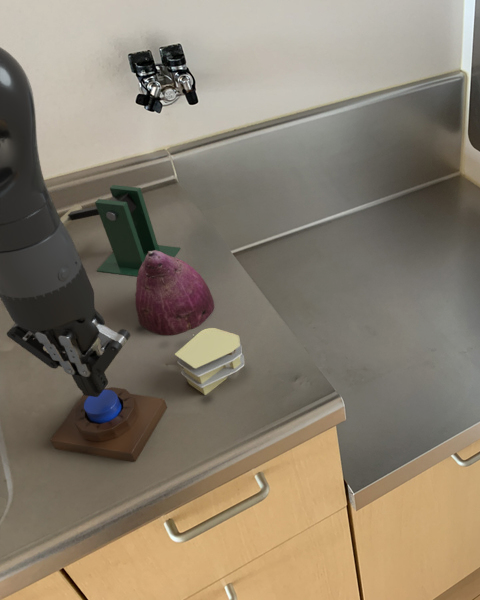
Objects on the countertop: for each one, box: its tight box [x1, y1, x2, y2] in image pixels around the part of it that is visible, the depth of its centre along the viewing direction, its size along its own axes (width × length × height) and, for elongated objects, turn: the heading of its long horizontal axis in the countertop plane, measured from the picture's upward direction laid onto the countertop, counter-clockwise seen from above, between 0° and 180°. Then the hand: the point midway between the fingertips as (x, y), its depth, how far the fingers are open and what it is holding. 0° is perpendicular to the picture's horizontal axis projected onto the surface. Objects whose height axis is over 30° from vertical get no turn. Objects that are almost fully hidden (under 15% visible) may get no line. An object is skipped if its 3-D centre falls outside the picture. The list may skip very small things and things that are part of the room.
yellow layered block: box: [174, 327, 245, 396], centre depth 78 cm, size 10×9×6 cm
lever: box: [60, 193, 137, 228], centre depth 91 cm, size 12×5×2 cm, turn 80°
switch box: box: [50, 386, 168, 463], centre depth 72 cm, size 10×8×4 cm
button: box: [84, 390, 121, 423], centre depth 70 cm, size 4×4×2 cm
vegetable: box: [134, 250, 215, 336], centre depth 83 cm, size 10×10×15 cm
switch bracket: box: [94, 184, 182, 278], centre depth 93 cm, size 10×8×13 cm
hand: (95, 390), depth 69 cm, fingers closed
